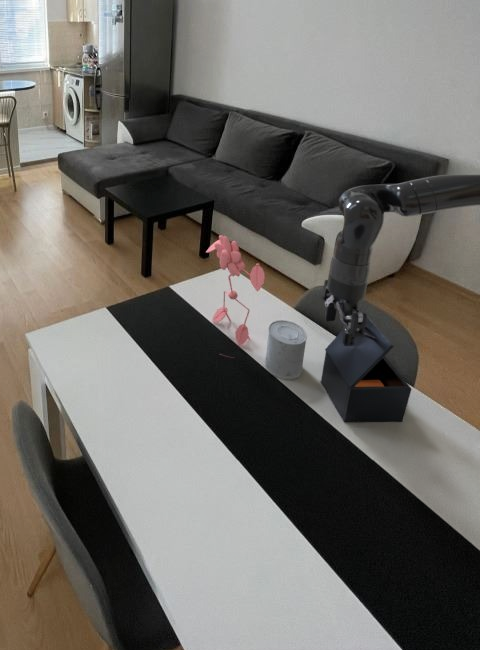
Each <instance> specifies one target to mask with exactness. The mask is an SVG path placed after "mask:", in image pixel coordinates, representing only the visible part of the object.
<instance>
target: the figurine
mask: <svg viewBox="0 0 480 650" xmlns="http://www.w3.org/2000/svg"><path fill="white" fill-rule="evenodd" d="M214 251H216V256H217V258H218V259H219V266H220V269H221V270H223V271H226V269H227V271H228V273H229V274H228V282H229V286H230V290H229V291H227V290H223V306H221V307H219V308H218V309H216V311H215V312H214V314H213V316H212V320H211V322H212V321H213V322H212V323H219V322H221V321H222V320H223V319H224V318H225V317H226V318H227V320H228V321H229V322H230V321H231V322H232V319H231V317H230V315H229V314H228V308H227V307H226V304H225V303H226V294H227V296H228V298H229V299H230V300H234V301H236V302H237V303H238V304H239V305H241V306H242V307H244V309H246V310H247V312H246V317H245V320H244V322H243V324H239V325H238V327H237V328H236V330H235V340H236V343H237V344H238V347H241V346H243V345H244V344H245V343H246V342H247V340H251V338H250V336H249V328H248V326H247V325H246V323H247V320H248V318H249V315H250V308H249V307H247V306H245V304H243V303H242V302H241V301H240V300H238V296H239V295H238V292H237V291H235V290H234V289H233V285H232V280H231V277H235V276H236V277H240V276H241V271H242V272H244V273H245V274H247V276H249V278H250V283H251V286H252V287H253V288H254V290H255V291H256V292H259V291H260V290H261V289H262V287H263V285H264V283H265V280H266V276H265V271H264V268H263V267H262V266H260V265H261V264H260V263H256V264H255V265H254V266H253V267H252V269H251V271H250V273H249V272H248V271H247V270H245V269H246V264H245V262H244V261H243V260H242V253H241V252H240V246H239V244H238V241H237V240H233V241H230V239H229V238H228V237H227V236H226V235H222V234H220V235H219V236H218V240H216V241H215V242H213V243H212V244H211V245H210V246H208V249H207V250H206V251H205V253H207V254H208V253H212V252H214ZM220 356H223V357H226V358H229V356H228V355H224V354H221V353H220ZM230 358H231V359H234V357H232V356H230Z"/></svg>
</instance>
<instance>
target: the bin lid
mask: <svg viewBox="0 0 480 650" xmlns="http://www.w3.org/2000/svg"><path fill="white" fill-rule="evenodd" d="M359 312H360V313H366V312H365V311H364V310H363V309H360V310H359ZM366 315H367V319H366V325H365V332H364V337H356V338H355V343H354V345H353V346H344V344H343V343H342V341H343V336H344V331H345V329H344V328H343V329H342V330H341V331H340V332H339V334H338V335H336V337H335V338H334V339H333V340H332V341H331V342H330V343H329V344H328V345H327V347H326V348H325V349H324V351H325V353H326V352H327V353H328V355H329V357H330V358H331V360H332V361H333V363H334V364H335V366H336V367H337V369H338V370H339V372H340V373H341V375H342V376H343V378H344V379H345V381H346V382H347V384H348V385H349V387H350V388H352V389H353V388H354V387H355V386H356V385H357V384H358V383H359V382H360V380H361V379H362V378H363V377H364V376H365V375H366V374H367V373H368V372H369V371H370V370H371V369H372V368H373V367H374V366H375V365H376V364H377V363H378V362H379V361H380V360H381V359H382V358H383V357H384V356H385V357H386V356H387V354H388V353H389V352H391V350H392V349H393V348H394V347H395V345H394V344H393V342H392V341H390V340H389V338H388V337H387V336H386V335H385V334H384V332H382V331H381V329H380V328H379V327H378V326H377V325H376V323H374V321H373V320H372V319H371V318H370V316H369V315H368V314H367V313H366ZM351 316H352V315H351ZM351 316H345V318H346V319H351ZM348 325H349V328H350V325H351V323H348Z"/></svg>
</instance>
